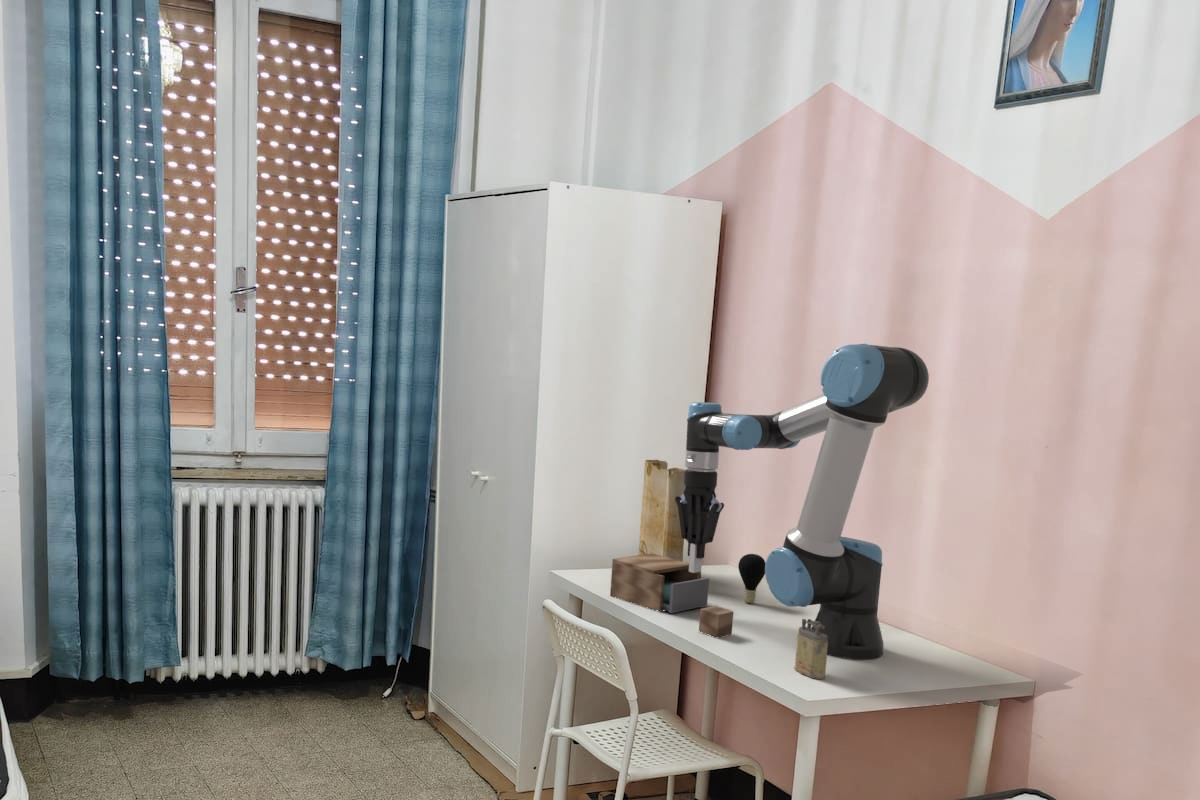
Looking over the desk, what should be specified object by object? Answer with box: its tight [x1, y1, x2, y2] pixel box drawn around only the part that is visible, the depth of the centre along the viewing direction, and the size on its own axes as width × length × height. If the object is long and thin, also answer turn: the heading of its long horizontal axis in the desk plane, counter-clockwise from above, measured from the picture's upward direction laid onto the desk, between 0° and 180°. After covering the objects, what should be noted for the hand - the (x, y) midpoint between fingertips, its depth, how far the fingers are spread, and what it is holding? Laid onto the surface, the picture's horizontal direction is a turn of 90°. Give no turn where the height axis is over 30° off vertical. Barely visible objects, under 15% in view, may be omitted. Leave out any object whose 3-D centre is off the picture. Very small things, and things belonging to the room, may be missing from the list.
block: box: [698, 605, 734, 638], centre depth 209 cm, size 5×5×5 cm
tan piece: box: [638, 459, 686, 562], centre depth 258 cm, size 23×6×30 cm, turn 13°
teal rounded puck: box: [663, 581, 679, 604], centre depth 231 cm, size 8×8×4 cm
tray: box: [662, 577, 710, 614], centre depth 232 cm, size 18×13×6 cm
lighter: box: [793, 618, 828, 680], centre depth 186 cm, size 7×4×10 cm, turn 28°
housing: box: [609, 553, 702, 612], centre depth 234 cm, size 16×14×9 cm
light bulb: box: [738, 553, 766, 604], centre depth 237 cm, size 7×7×12 cm
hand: (694, 571), depth 225 cm, fingers closed
